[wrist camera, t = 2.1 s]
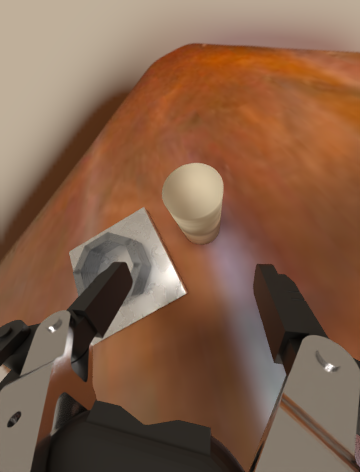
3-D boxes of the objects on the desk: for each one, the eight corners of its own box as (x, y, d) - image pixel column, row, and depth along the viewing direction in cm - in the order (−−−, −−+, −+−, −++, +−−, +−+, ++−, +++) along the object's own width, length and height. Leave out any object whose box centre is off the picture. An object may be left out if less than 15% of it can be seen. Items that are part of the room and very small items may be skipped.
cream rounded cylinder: (207, 204, 23) (202, 152, 14) (227, 232, 21) (236, 195, 12) (177, 221, 23) (152, 182, 14) (194, 251, 22) (178, 229, 12)
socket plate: (147, 211, 25) (134, 197, 21) (188, 292, 20) (181, 295, 16) (76, 253, 26) (49, 248, 22) (99, 341, 21) (71, 356, 17)
